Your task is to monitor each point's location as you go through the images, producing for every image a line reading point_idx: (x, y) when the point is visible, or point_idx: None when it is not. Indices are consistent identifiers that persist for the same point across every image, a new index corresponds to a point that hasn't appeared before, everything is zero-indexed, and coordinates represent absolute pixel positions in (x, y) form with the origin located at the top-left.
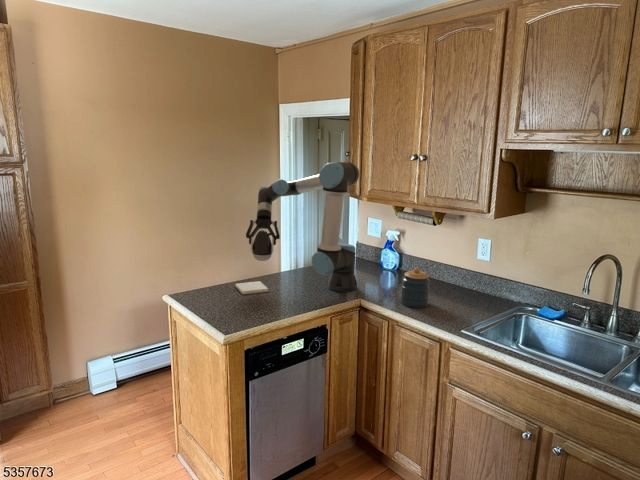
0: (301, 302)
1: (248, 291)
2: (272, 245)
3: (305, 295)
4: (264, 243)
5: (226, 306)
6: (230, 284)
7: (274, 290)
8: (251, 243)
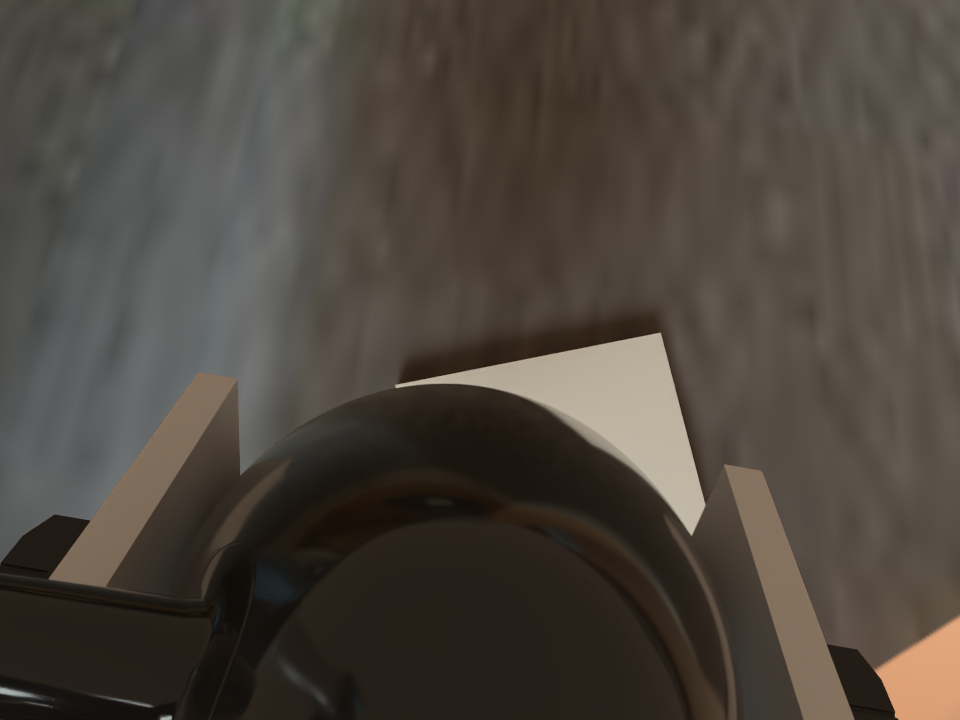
0: (141, 54)
1: (599, 346)
2: (178, 438)
3: (46, 223)
4: (415, 392)
5: (781, 71)
6: None
7: None
8: (787, 578)
